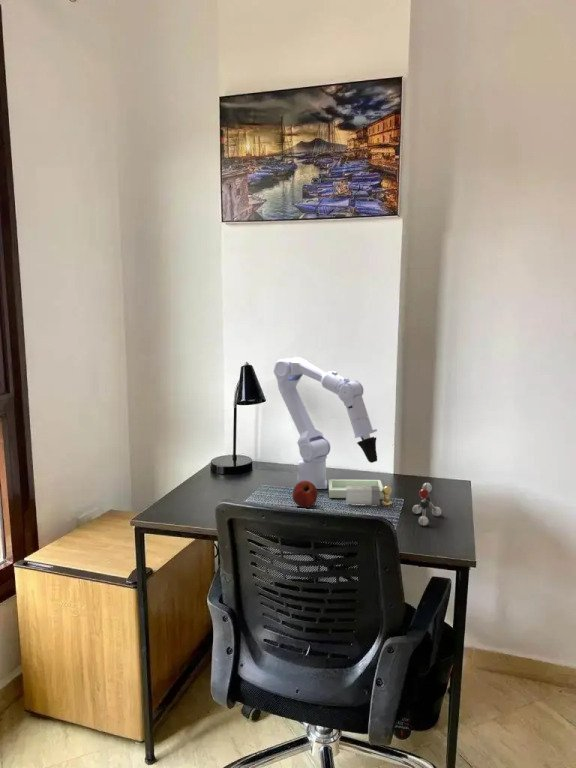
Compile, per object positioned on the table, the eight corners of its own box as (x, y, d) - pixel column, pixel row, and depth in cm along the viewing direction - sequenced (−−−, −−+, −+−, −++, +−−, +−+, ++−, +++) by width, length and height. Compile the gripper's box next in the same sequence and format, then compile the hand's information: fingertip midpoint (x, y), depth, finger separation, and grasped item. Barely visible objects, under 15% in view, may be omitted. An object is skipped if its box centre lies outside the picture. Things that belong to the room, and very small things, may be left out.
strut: (346, 505, 178) (346, 489, 177) (345, 501, 181) (345, 485, 181) (379, 506, 177) (380, 490, 176) (378, 501, 181) (378, 486, 180)
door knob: (382, 505, 178) (382, 487, 177) (381, 502, 180) (381, 484, 180) (392, 505, 177) (392, 487, 177) (390, 502, 180) (391, 484, 180)
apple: (291, 510, 173) (291, 484, 172) (293, 501, 181) (293, 476, 180) (316, 511, 173) (317, 484, 172) (317, 502, 181) (317, 477, 180)
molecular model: (441, 514, 170) (442, 479, 168) (438, 530, 159) (439, 491, 157) (412, 511, 173) (413, 476, 171) (407, 526, 161) (408, 488, 160)
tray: (329, 498, 184) (329, 490, 183) (328, 487, 195) (328, 479, 194) (384, 499, 183) (384, 490, 182) (380, 488, 194) (380, 479, 193)
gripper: (373, 414, 175) (387, 458, 173) (370, 416, 189) (383, 457, 188) (350, 421, 175) (364, 465, 173) (349, 422, 189) (362, 463, 188)
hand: (373, 461), depth 181 cm, fingers open, 7 cm apart
